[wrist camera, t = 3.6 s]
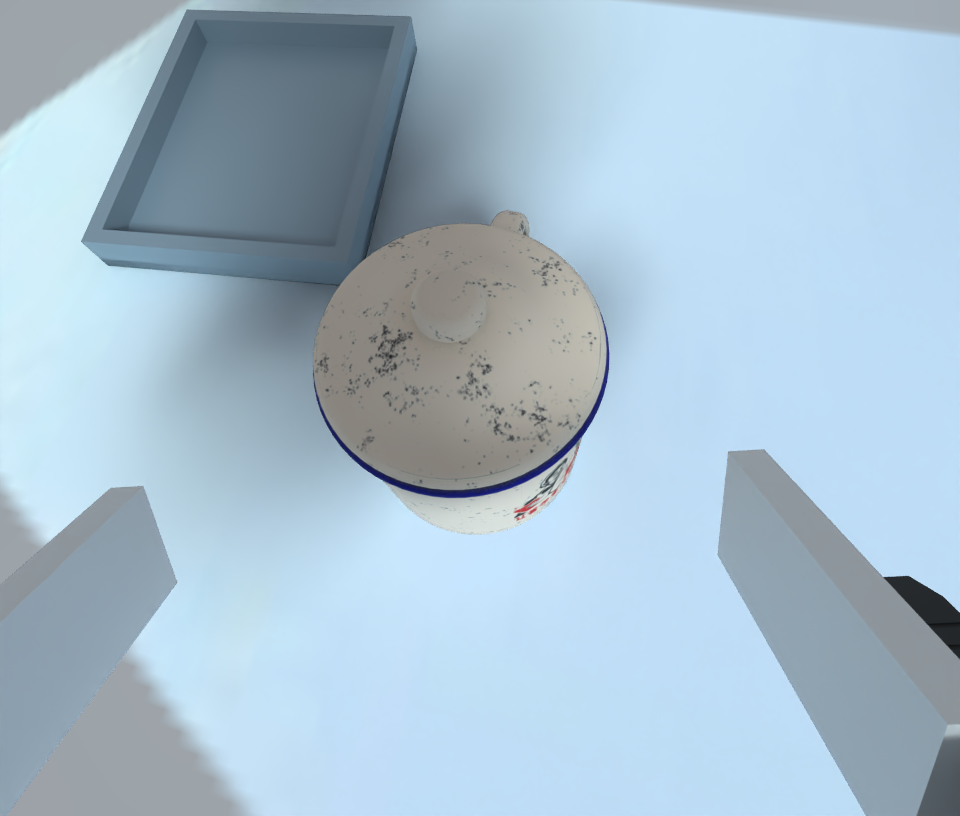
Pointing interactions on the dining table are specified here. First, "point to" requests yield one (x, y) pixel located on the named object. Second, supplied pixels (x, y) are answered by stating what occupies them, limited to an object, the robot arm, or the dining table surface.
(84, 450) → the dining table surface
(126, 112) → the dining table surface
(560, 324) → the teacup with lid
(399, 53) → the slate tray
